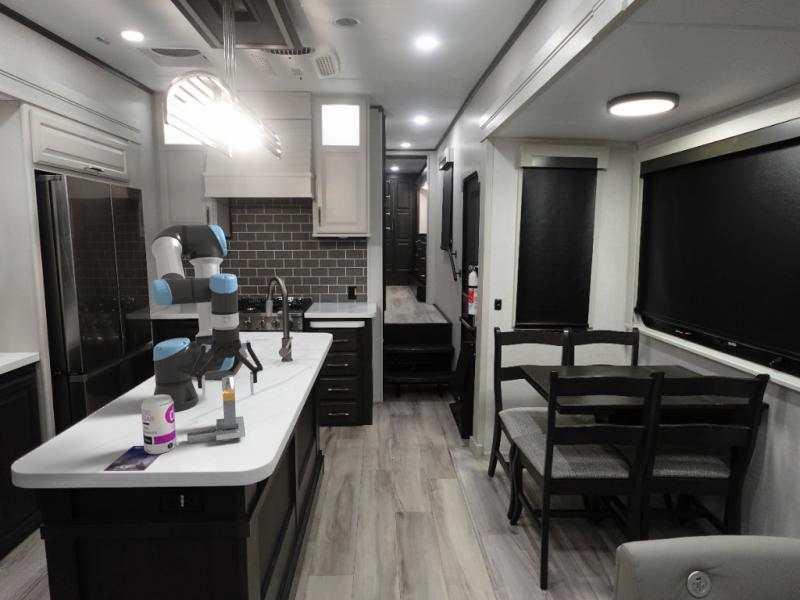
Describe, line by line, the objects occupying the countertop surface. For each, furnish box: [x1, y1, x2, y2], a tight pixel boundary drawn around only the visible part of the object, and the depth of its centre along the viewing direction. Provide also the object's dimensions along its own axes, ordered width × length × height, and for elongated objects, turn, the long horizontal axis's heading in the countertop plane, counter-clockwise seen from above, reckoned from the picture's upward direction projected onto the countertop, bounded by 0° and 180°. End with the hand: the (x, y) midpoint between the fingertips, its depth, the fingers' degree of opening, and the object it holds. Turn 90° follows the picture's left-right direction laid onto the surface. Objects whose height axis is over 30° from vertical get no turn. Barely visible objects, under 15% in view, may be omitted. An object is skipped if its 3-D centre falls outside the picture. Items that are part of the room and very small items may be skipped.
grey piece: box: [186, 375, 246, 445], centre depth 147 cm, size 16×17×16 cm
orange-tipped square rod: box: [222, 390, 237, 440], centre depth 145 cm, size 3×3×14 cm
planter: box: [203, 340, 248, 380], centre depth 203 cm, size 17×8×21 cm
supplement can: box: [140, 394, 177, 455], centre depth 137 cm, size 8×8×15 cm
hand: (228, 395), depth 145 cm, fingers open, 13 cm apart
